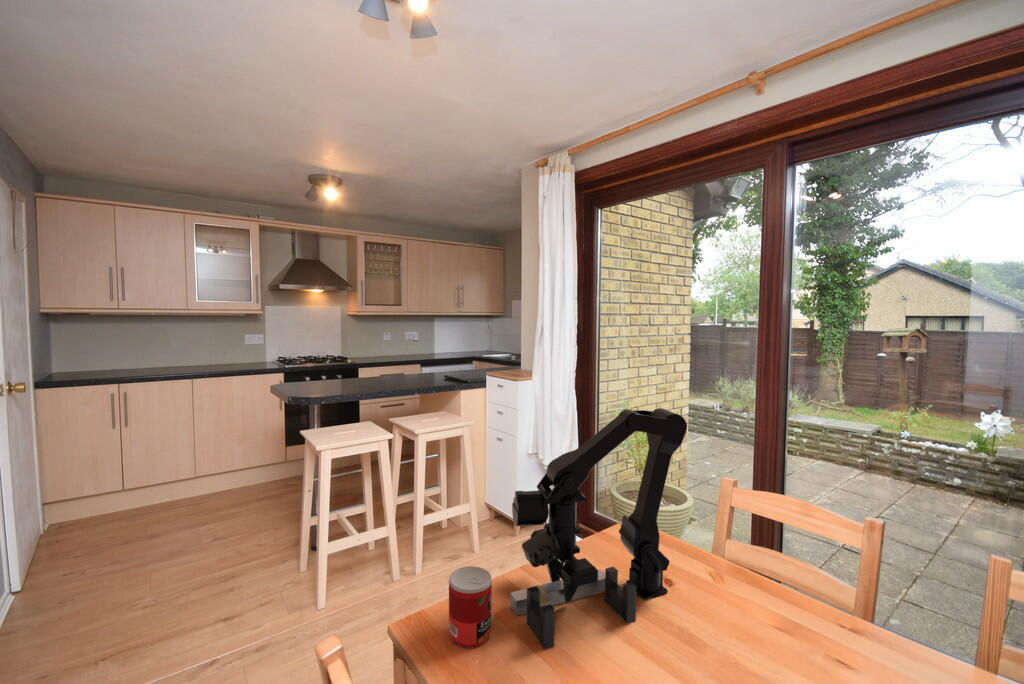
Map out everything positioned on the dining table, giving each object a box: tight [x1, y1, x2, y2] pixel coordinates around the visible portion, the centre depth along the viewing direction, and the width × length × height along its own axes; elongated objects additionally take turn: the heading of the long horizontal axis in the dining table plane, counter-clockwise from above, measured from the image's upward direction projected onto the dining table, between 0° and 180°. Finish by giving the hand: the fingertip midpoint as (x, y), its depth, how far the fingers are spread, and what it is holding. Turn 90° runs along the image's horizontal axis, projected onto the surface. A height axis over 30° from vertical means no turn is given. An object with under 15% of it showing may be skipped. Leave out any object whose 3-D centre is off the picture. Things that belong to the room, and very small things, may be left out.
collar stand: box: [526, 566, 637, 650], centre depth 88 cm, size 20×8×7 cm, turn 113°
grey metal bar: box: [509, 569, 605, 616], centre depth 95 cm, size 22×3×3 cm, turn 113°
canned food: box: [448, 566, 493, 649], centre depth 84 cm, size 8×8×11 cm
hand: (561, 593), depth 95 cm, fingers open, 5 cm apart
